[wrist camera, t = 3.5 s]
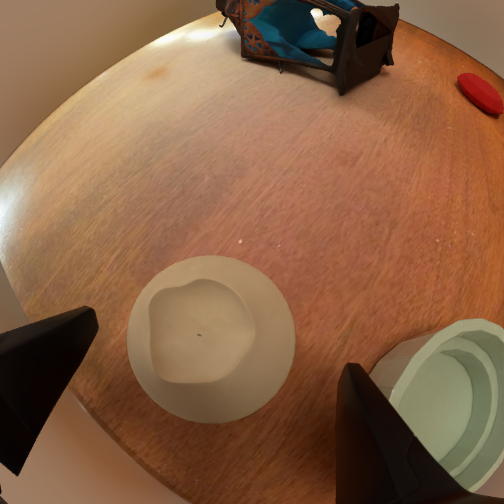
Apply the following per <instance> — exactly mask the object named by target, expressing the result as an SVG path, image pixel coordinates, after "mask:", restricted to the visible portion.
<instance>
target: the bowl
mask: <svg viewBox="0 0 504 504" xmlns="http://www.w3.org/2000/svg"><path fill="white" fill-rule="evenodd" d="M369 377H370V378H371V379H372V380H373V382H374V383H375V384H376V385H377V387H378V388H379V389H380V390H381V392H382V393H383V394H384V396H385V397H386V398H387V399H388V401H389V402H390V403H391V404H392V406H393V407H394V408H395V410H396V411H397V412H398V413H399V415H400V416H401V417H402V418H403V420H404V421H405V422H406V424H407V425H408V426H409V428H410V429H411V430H412V431H413V433H414V436H417V438H418V439H419V440H420V442H421V443H422V444H423V445H424V447H425V448H426V449H427V450H428V451H429V453H430V454H431V455H432V456H433V457H434V458H435V459H436V460H437V462H438V463H439V464H440V465H441V466H442V467H443V468H444V469H445V470H446V471H447V472H448V473H449V474H450V475H451V476H452V477H453V478H454V479H455V480H456V481H457V482H458V483H459V484H460V485H461V486H462V487H463V488H465V489H466V490H468V491H470V492H472V493H473V492H474V491H476V490H477V489H478V488H480V487H481V486H482V485H483V484H484V483H485V482H486V481H487V480H488V478H489V477H490V476H491V475H492V474H493V473H494V471H495V470H496V469H497V467H498V466H499V465H500V463H501V462H502V460H503V458H504V329H503V328H502V327H501V326H499V325H497V324H495V323H492V322H490V321H487V320H485V319H481V318H477V319H465V320H459V321H456V322H453V323H450V324H447V325H445V326H442V327H439V328H436V329H432V330H429V331H426V332H423V333H420V334H418V335H416V336H414V337H411V338H409V339H407V340H405V341H403V342H400V343H399V344H398V345H397V346H396V347H394V348H393V349H392V350H391V351H390V352H389V353H388V354H386V355H385V356H384V357H383V358H382V359H380V361H379V362H378V363H377V365H376V366H375V368H374V369H373V370H372V372H371V373H370V375H369Z"/></svg>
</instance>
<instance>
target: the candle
mask: <svg viewBox="0 0 504 504" xmlns="http://www.w3.org/2000/svg"><path fill="white" fill-rule="evenodd" d="M295 345H296V336H295V326H294V321H293V317H292V314H291V311H290V308H289V306H288V304H287V302H286V300H285V298H284V296H283V295H282V293H281V292H280V290H279V289H278V288H277V286H276V285H275V284H274V283H273V282H272V281H271V280H270V279H269V278H268V277H267V276H266V275H264V274H263V273H262V272H261V271H259V270H258V269H256V268H255V267H253V266H251V265H249V264H247V263H245V262H243V261H240V260H237V259H234V258H229V257H224V256H214V255H209V256H198V257H192V258H188V259H185V260H182V261H179V262H177V263H175V264H173V265H171V266H169V267H167V268H166V269H164V270H163V271H161V272H160V273H159V274H157V275H156V276H155V277H154V278H153V279H152V280H151V281H150V282H149V283H148V284H147V285H146V286H145V288H144V289H143V290H142V292H141V293H140V295H139V296H138V298H137V300H136V302H135V304H134V306H133V308H132V311H131V314H130V318H129V322H128V327H127V351H128V356H129V361H130V364H131V367H132V370H133V372H134V374H135V377H136V379H137V381H138V382H139V384H140V385H141V387H142V388H143V390H144V391H145V392H146V393H147V394H148V396H149V397H150V398H151V399H152V400H153V401H154V402H156V403H157V404H158V405H159V406H160V407H162V408H163V409H165V410H166V411H168V412H169V413H171V414H173V415H175V416H177V417H180V418H183V419H186V420H189V421H193V422H198V423H208V424H216V423H226V422H230V421H235V420H238V419H240V418H243V417H246V416H248V415H250V414H252V413H253V412H255V411H257V410H259V409H260V408H261V407H263V406H264V405H265V404H267V403H268V402H269V401H270V400H271V399H272V398H273V397H274V396H275V395H276V393H277V392H278V391H279V389H280V388H281V387H282V385H283V383H284V382H285V380H286V378H287V376H288V374H289V371H290V369H291V366H292V363H293V359H294V354H295Z"/></svg>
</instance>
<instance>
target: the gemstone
mask: <svg viewBox="0 0 504 504" xmlns="http://www.w3.org/2000/svg"><path fill="white" fill-rule="evenodd" d="M457 79H458V82H459V84H460V86H461V89H462V92H463V94H464V95H465V96H466V97H467V98H469V99H470V100H471V101H472V102H473V103H474V105H476V106H477V107H479V108H481V109H482V110H484V111H485V112H487V113H488V114H502V113H503V110H504V107H503V102H502V99H501V97H500V95H499V93H498V92H497V91H496V90H495V89H494V88H493V87H492V86H491V85H490V84H489V83H488V82H486V81H485V80H483V79H482V78H480V77H478V76H477V75H475V74H471V73H464V74H460V75H459V76H458V78H457Z"/></svg>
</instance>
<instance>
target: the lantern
mask: <svg viewBox="0 0 504 504" xmlns="http://www.w3.org/2000/svg"><path fill="white" fill-rule="evenodd" d="M353 7H358V8H357V9H354V10H352V11H351V9H352V8H353ZM216 8H217V9H218V10H219V11H221V12H222V13H221V14H222V15H223V16H225V17H226V18H225V20H224V22H223V25H222V26H221V25H219V26H220V27H221V28H222V27H223V26H224V24H225V22H226V20H227V18H229V19H230V20H231V22H232V23H233V24H234V26H235V27H236V29H237V31H238V33H239V35H240V36H241V56H242V57H243V58H251V59H260V60H267V61H275V62H280V63H279V66H280V70H279V71H280V74H281V73H282V72H283V69H284V65H285V64H294V65H300V66H305V67H310V68H314V69H319V70H324V71H327V72H330V73H333V74H334V75H335V77H336V80H337V83H338V88H339V94H340V96H342V95H344V94H345V93H346V92H348V91H349V90H350V89H352V88H353V87H355V86H356V85H358V84H359V83H361V82H363V81H365V80H368V79H370V78H372V77H374V76H375V75H377V74H379V73H380V70H381V68H382V66H383V65H385V64H386V66H390V65H394V62H393V58H392V54H391V51H392V44H393V36H394V31H395V28H396V25H397V22H398V18H399V9H400V7H399V4H398V3H397V2H396V3H395V5H394V6H389V7H385V6H377V7H375V6H369V5H367V6H366V5H364V4H363V3H361V2H360V1H358V0H216ZM313 8H318V9H321V10H322V12H323V16H324V15H326V14H329V15H332V14H333V15H335V16H337V17H339V19H340V20H341V24H340V25H339V27H338V28H337V30H336V33H337V38H336V37H334V36H328V35H327V34H326V32H325V31H323V30H320V29H319V28H318V26H317V25H316V23H315V21H314V18H313V16H312V15H311V13H310V11H311V10H312V9H313ZM350 11H351V12H350ZM300 49H330V50H333V51H334V52H333V56H334V61H333V64H332V66H328V65H326V64H324V63H322V62H321V61H319V60H318V59H316V58H315V57H314V58H312V57H311V56H309V55H307V54H306V53H304V52H302V51H301V50H300Z"/></svg>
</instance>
